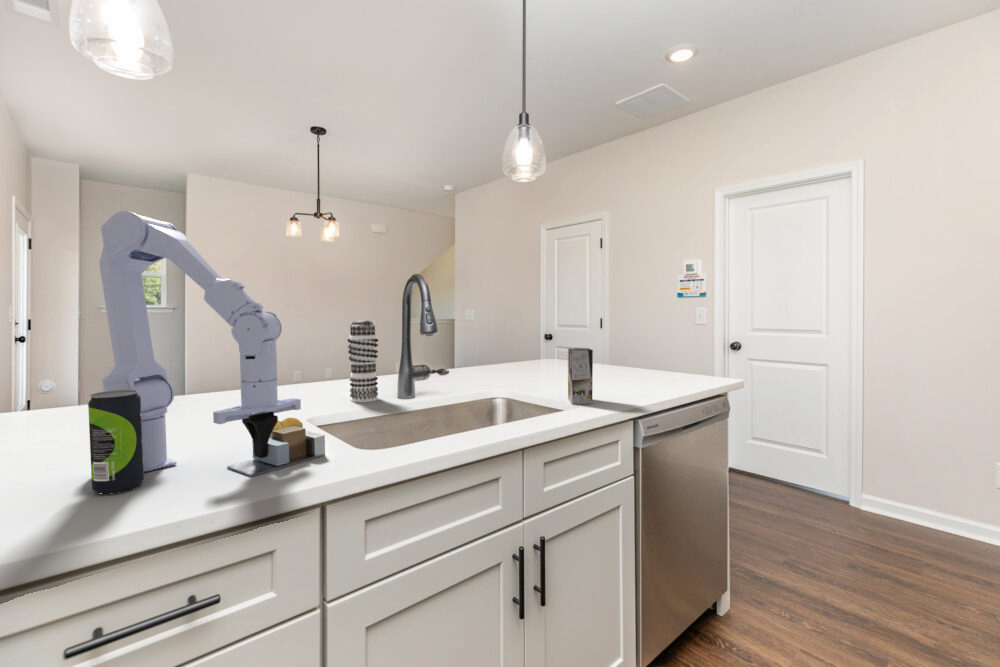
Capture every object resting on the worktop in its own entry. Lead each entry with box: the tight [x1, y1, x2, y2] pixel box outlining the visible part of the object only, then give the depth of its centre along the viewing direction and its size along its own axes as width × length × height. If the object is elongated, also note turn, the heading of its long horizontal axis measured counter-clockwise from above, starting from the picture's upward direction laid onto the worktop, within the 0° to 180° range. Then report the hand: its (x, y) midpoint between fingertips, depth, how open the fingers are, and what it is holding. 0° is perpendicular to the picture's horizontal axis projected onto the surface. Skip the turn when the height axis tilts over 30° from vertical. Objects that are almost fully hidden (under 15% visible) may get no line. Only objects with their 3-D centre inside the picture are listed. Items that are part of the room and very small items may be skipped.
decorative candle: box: [347, 320, 379, 403], centre depth 146 cm, size 9×9×25 cm
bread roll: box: [270, 417, 304, 439], centre depth 103 cm, size 8×9×4 cm
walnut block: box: [272, 426, 307, 459], centre depth 87 cm, size 4×4×5 cm
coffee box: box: [567, 347, 594, 405], centre depth 141 cm, size 9×6×16 cm
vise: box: [226, 430, 326, 478], centre depth 85 cm, size 14×8×4 cm, turn 146°
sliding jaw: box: [251, 438, 290, 466], centre depth 84 cm, size 2×8×4 cm, turn 56°
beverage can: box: [87, 390, 145, 495], centre depth 72 cm, size 6×6×15 cm
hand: (261, 456), depth 82 cm, fingers closed
